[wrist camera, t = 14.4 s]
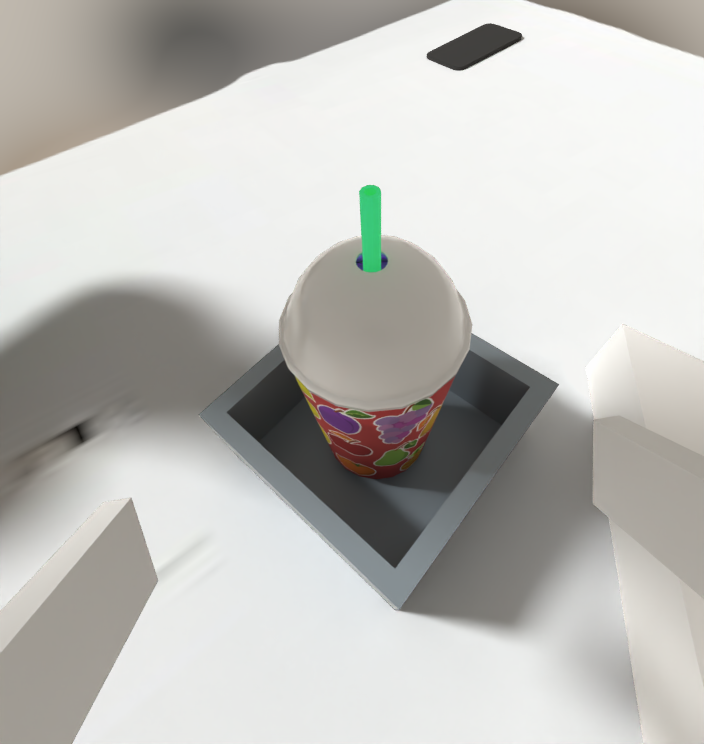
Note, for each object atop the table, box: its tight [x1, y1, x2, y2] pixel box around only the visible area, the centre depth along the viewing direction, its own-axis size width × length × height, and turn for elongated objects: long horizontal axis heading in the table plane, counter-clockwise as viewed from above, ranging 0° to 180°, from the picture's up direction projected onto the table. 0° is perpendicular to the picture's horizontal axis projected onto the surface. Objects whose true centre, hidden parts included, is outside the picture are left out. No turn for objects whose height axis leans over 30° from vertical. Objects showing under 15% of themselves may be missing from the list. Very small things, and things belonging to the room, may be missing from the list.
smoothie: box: [279, 185, 472, 479], centre depth 21 cm, size 8×8×20 cm
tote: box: [199, 333, 559, 610], centre depth 27 cm, size 15×15×7 cm
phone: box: [427, 24, 522, 70], centre depth 62 cm, size 7×1×15 cm
